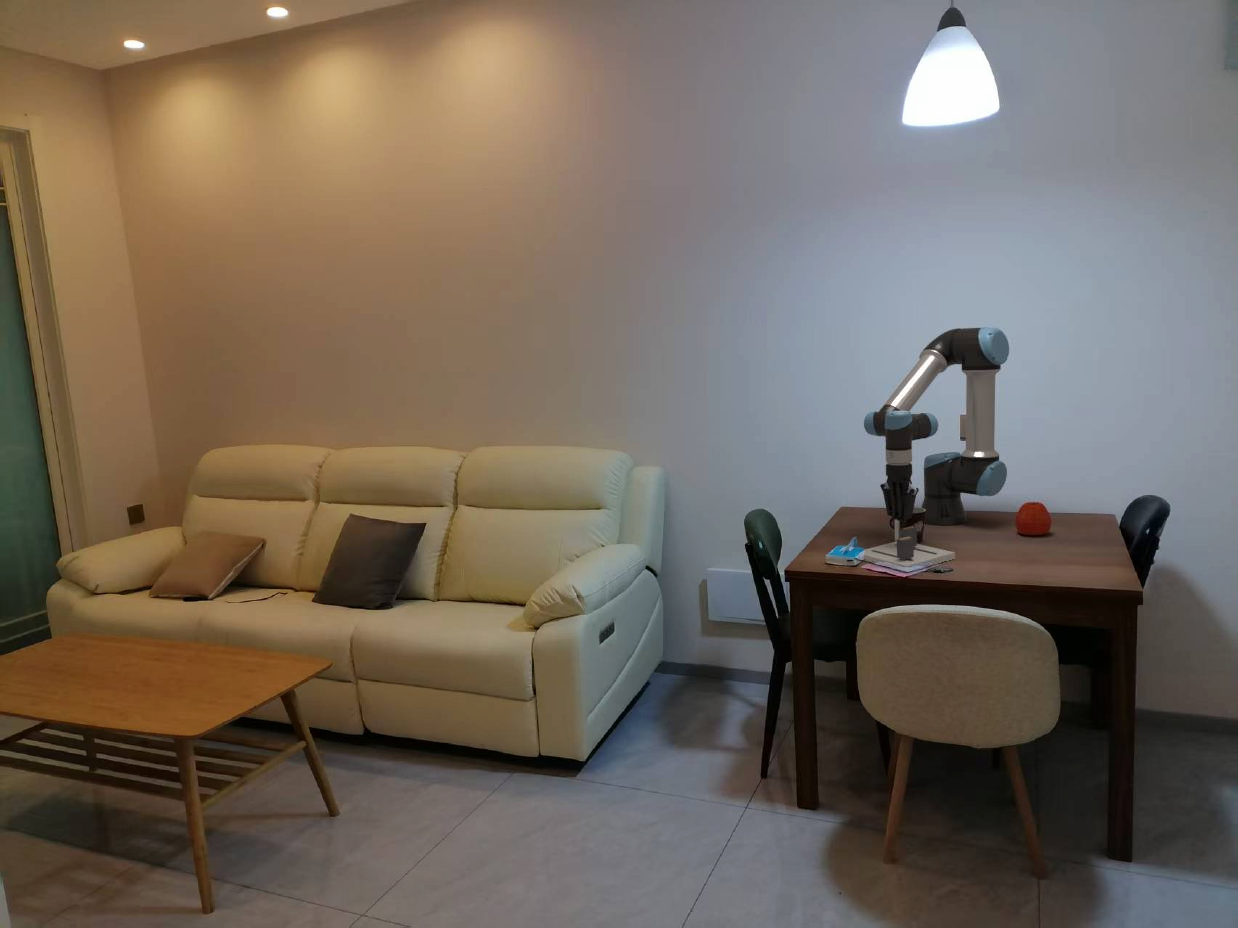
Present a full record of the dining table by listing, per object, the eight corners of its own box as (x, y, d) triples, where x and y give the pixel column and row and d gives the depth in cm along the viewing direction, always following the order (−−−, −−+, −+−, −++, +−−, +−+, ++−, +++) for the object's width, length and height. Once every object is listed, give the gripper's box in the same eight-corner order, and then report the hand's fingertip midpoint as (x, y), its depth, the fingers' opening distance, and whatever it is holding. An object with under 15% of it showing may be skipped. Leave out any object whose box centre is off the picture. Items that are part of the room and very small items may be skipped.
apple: (1028, 539, 270) (1029, 506, 268) (1007, 532, 280) (1007, 500, 278) (1058, 535, 272) (1058, 502, 270) (1036, 528, 282) (1036, 496, 280)
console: (900, 546, 272) (900, 539, 272) (955, 559, 255) (955, 552, 254) (854, 558, 262) (854, 551, 262) (907, 573, 245) (907, 565, 245)
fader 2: (906, 555, 253) (906, 536, 252) (913, 556, 251) (913, 537, 250) (897, 557, 251) (896, 538, 250) (904, 559, 249) (903, 540, 248)
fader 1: (910, 544, 265) (910, 525, 264) (916, 545, 263) (916, 527, 262) (901, 546, 263) (900, 528, 262) (907, 548, 261) (907, 529, 260)
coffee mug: (922, 537, 281) (922, 506, 279) (929, 543, 273) (928, 512, 271) (885, 538, 282) (884, 508, 281) (890, 545, 274) (890, 514, 272)
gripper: (873, 462, 265) (874, 538, 269) (907, 467, 254) (908, 546, 258) (890, 459, 269) (892, 534, 273) (925, 463, 258) (925, 541, 261)
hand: (899, 539), depth 265 cm, fingers closed
